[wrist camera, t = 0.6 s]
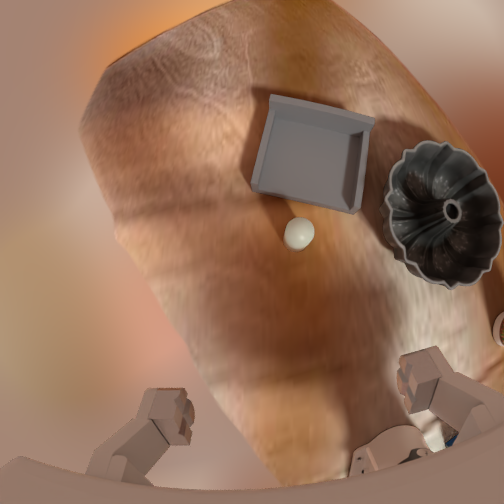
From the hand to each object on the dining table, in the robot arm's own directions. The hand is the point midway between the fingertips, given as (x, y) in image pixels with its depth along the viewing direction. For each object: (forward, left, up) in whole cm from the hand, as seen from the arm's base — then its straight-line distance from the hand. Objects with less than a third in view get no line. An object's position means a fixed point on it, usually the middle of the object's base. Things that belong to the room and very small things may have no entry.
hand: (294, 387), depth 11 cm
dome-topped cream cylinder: (+12, -1, -44) cm, 46 cm away
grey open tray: (+27, -1, -44) cm, 52 cm away
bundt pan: (+22, -26, -45) cm, 56 cm away
